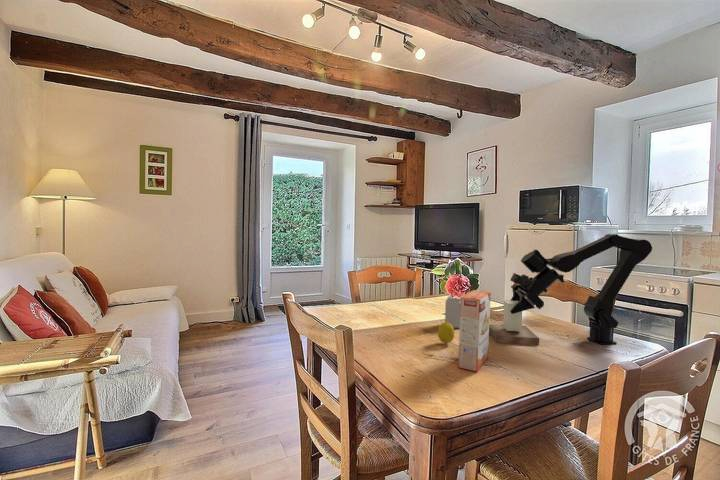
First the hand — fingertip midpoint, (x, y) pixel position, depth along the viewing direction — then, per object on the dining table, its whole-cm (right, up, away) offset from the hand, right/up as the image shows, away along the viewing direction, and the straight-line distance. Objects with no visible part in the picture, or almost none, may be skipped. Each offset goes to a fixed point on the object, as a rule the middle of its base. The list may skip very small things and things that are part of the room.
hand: (508, 311), depth 129 cm
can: (-16, -9, +13) cm, 23 cm away
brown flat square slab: (+1, -10, 0) cm, 10 cm away
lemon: (-25, -10, -8) cm, 28 cm away
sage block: (+1, -7, 0) cm, 7 cm away
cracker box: (-20, -11, -23) cm, 33 cm away
